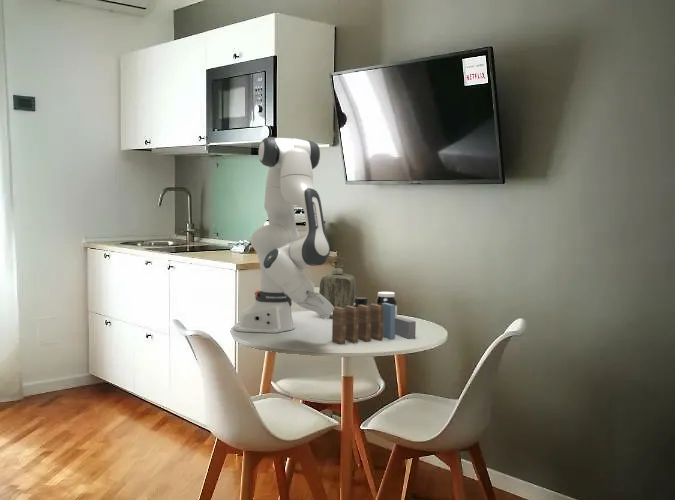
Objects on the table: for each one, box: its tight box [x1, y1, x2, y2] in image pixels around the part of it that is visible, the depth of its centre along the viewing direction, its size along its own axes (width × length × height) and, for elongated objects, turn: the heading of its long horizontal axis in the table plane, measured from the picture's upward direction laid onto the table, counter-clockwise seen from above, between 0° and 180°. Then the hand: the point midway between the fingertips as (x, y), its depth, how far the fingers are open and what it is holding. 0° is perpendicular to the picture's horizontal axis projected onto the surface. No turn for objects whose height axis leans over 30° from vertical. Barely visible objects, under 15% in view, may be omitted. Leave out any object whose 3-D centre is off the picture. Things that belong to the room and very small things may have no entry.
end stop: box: [395, 316, 417, 340], centre depth 244 cm, size 3×10×6 cm, turn 29°
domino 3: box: [358, 305, 372, 343], centre depth 236 cm, size 2×6×12 cm, turn 29°
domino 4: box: [369, 303, 384, 341], centre depth 238 cm, size 2×6×12 cm, turn 29°
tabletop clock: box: [318, 256, 357, 309], centre depth 279 cm, size 14×9×25 cm, turn 82°
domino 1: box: [331, 306, 346, 345], centre depth 231 cm, size 2×6×12 cm, turn 29°
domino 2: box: [345, 305, 359, 344], centre depth 233 cm, size 2×6×12 cm, turn 29°
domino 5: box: [382, 303, 396, 340], centre depth 241 cm, size 2×6×12 cm, turn 29°
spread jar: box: [374, 291, 398, 317], centre depth 273 cm, size 12×11×12 cm
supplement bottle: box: [353, 296, 370, 308], centre depth 255 cm, size 7×7×12 cm
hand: (326, 317), depth 228 cm, fingers closed
